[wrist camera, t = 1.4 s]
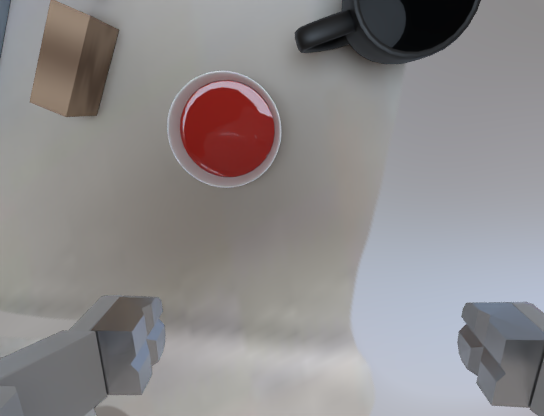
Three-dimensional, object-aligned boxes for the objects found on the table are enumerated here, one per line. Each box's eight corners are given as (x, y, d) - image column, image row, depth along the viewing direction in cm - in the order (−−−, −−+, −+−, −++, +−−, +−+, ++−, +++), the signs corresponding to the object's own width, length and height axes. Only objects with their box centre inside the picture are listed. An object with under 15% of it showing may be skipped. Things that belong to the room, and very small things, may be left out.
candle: (196, 66, 32) (177, 57, 26) (290, 91, 32) (294, 87, 26) (179, 161, 34) (158, 173, 28) (268, 183, 35) (266, 199, 29)
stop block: (96, 115, 33) (65, 116, 28) (65, 102, 33) (29, 102, 28) (119, 29, 31) (90, 15, 26) (86, 15, 31) (50, -2, 26)
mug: (276, 6, 30) (276, -38, 21) (411, -47, 29) (474, -117, 20) (304, 99, 32) (315, 96, 23) (431, 54, 31) (496, 32, 22)
